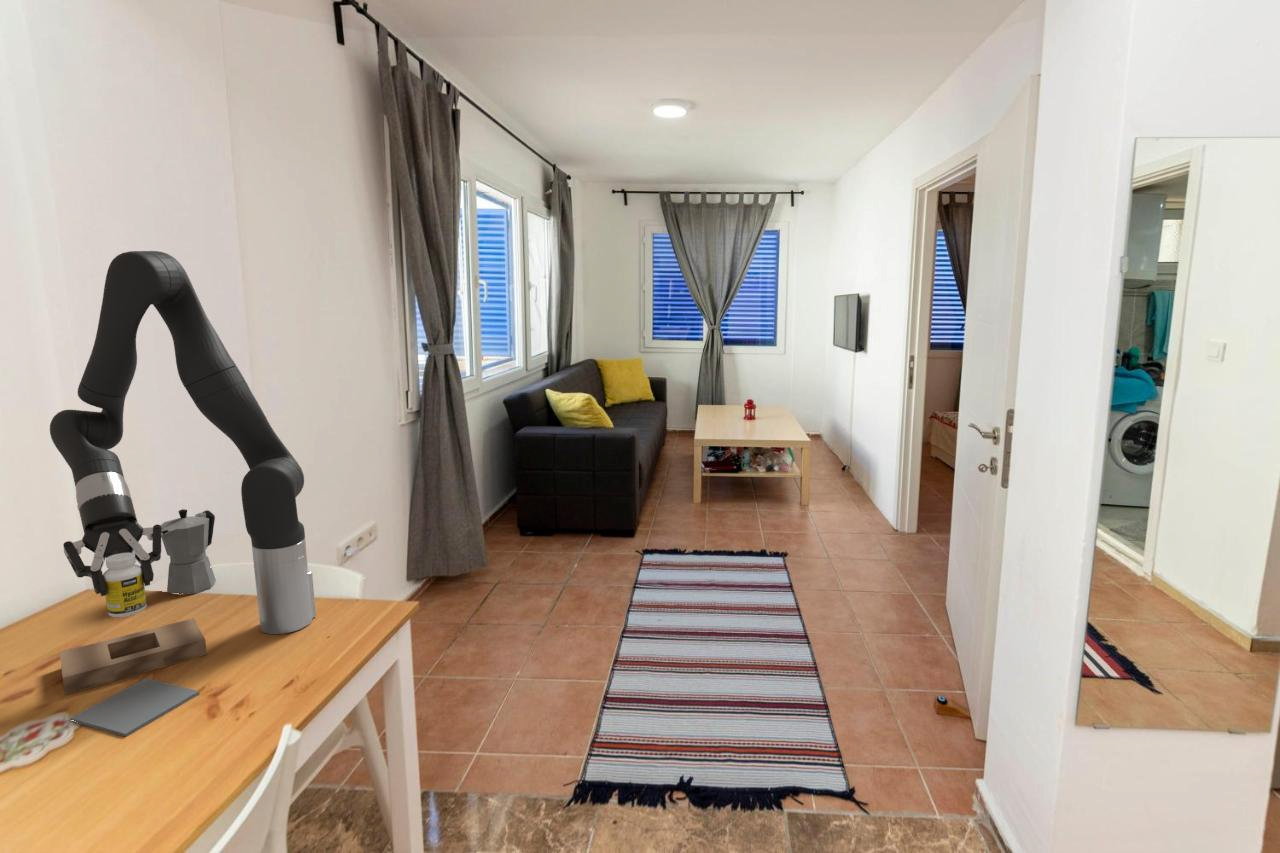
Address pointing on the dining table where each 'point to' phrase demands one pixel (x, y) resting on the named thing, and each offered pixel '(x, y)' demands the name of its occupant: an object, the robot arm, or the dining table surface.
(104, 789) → the dining table surface
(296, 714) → the dining table surface
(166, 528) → the coffeepot
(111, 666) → the bottle holder tray
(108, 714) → the slate pad
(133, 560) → the supplement bottle
